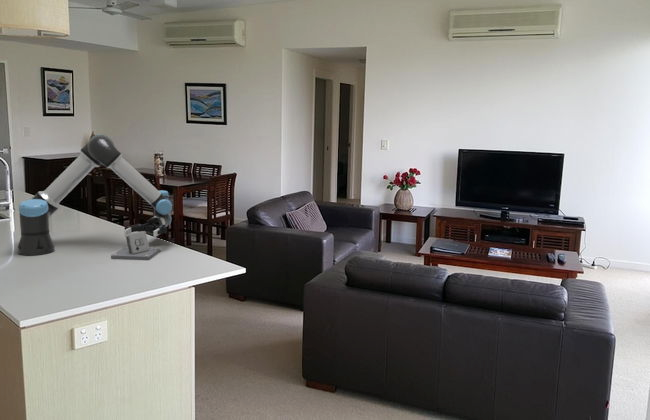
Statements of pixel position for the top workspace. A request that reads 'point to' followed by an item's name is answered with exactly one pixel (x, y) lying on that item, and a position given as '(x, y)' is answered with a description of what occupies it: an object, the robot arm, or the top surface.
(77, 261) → the top surface
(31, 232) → the robot arm
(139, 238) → the electrical switch
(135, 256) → the mounting plate
